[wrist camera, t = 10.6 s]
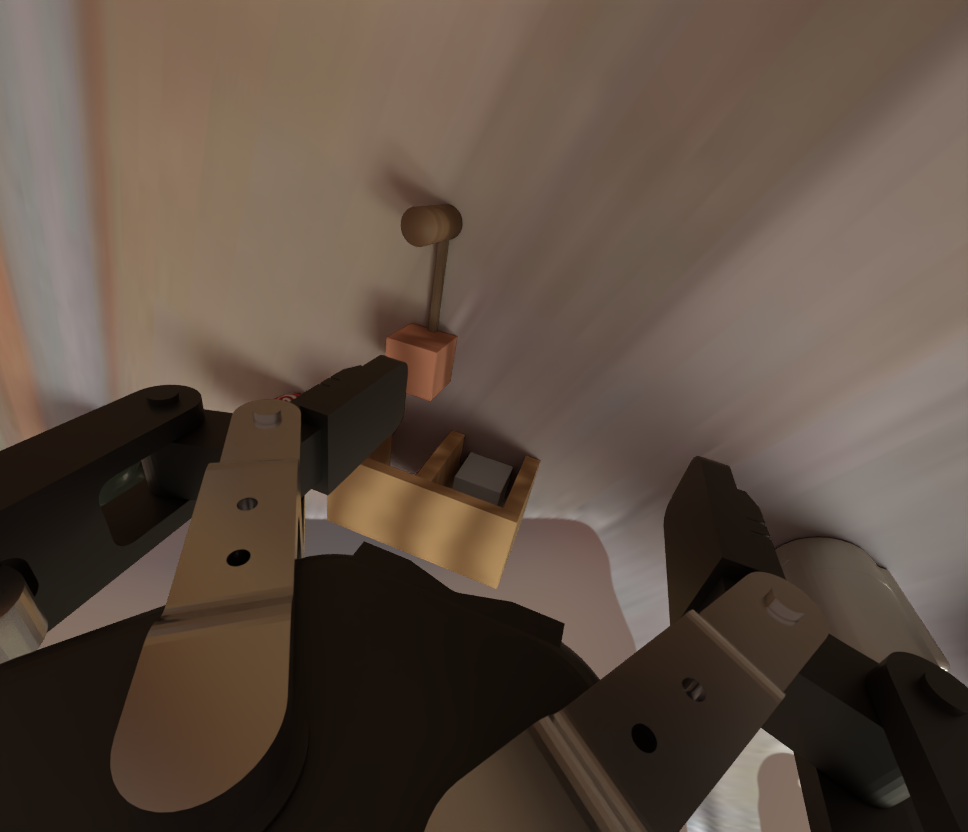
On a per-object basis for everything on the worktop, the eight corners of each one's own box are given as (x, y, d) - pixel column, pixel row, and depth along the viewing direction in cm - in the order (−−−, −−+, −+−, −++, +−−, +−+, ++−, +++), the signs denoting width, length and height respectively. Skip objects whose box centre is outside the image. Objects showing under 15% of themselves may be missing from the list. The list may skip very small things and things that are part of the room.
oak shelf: (540, 460, 46) (516, 522, 37) (521, 521, 50) (496, 589, 42) (381, 406, 49) (326, 452, 41) (377, 467, 54) (327, 520, 45)
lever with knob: (476, 211, 36) (450, 214, 31) (450, 381, 45) (425, 405, 40) (423, 198, 37) (389, 200, 32) (407, 367, 46) (378, 389, 41)
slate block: (513, 466, 47) (500, 493, 43) (504, 500, 50) (491, 528, 46) (471, 451, 48) (454, 476, 44) (464, 485, 51) (448, 512, 47)
